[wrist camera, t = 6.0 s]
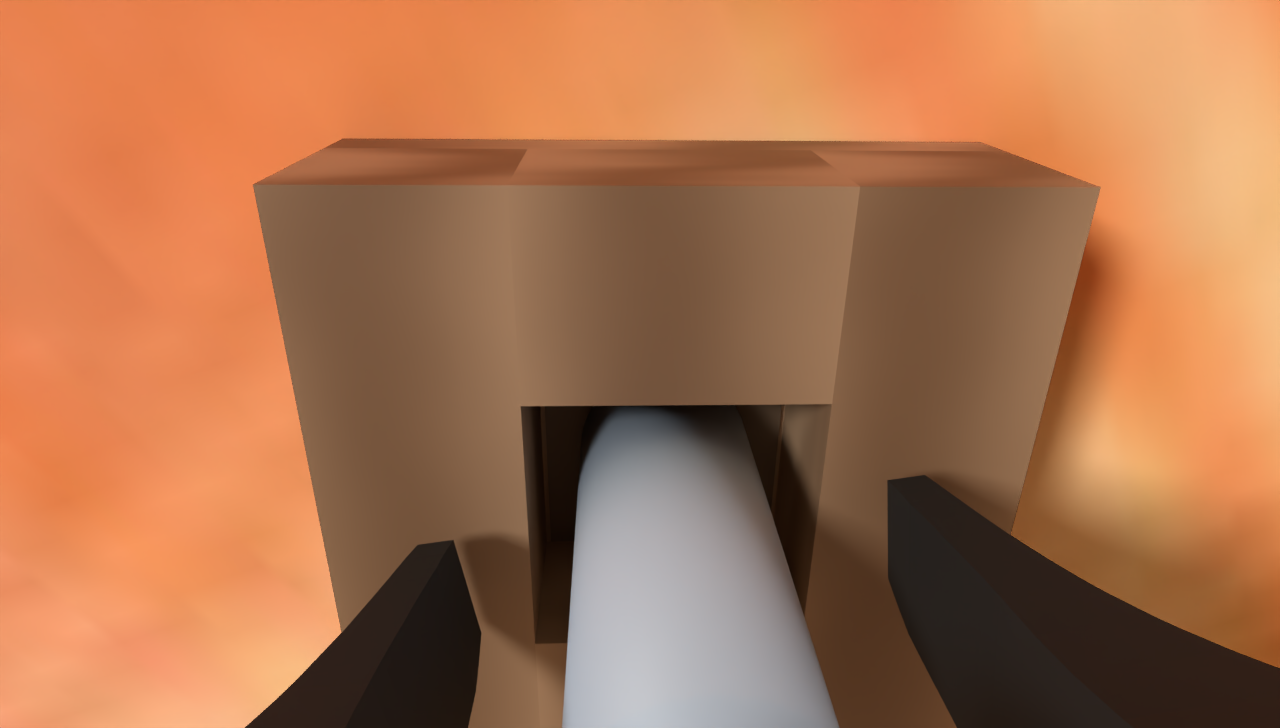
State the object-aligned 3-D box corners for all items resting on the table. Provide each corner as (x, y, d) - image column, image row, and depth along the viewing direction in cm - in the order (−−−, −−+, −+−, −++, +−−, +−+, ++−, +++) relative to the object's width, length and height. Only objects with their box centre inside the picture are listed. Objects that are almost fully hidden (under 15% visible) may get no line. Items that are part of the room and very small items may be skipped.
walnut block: (980, 142, 15) (1100, 187, 11) (889, 624, 20) (951, 763, 16) (343, 139, 14) (252, 184, 11) (414, 632, 19) (370, 777, 16)
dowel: (742, 363, 15) (861, 683, 8) (746, 505, 17) (850, 885, 10) (571, 378, 15) (537, 710, 8) (590, 518, 17) (575, 908, 10)
